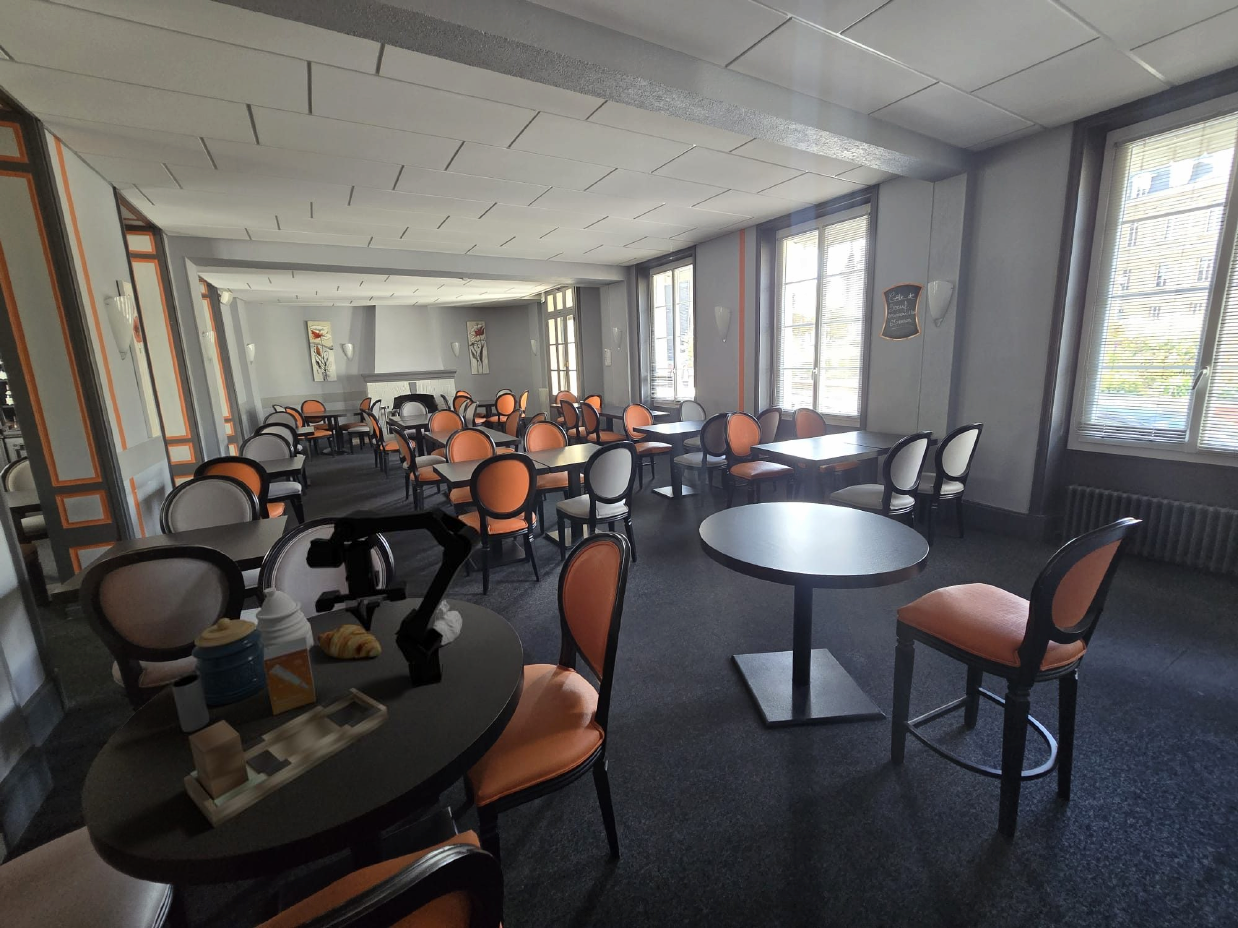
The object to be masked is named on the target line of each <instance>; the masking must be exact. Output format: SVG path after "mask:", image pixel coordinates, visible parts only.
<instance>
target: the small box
mask: <svg viewBox="0 0 1238 928" xmlns="http://www.w3.org/2000/svg"><path fill="white" fill-rule="evenodd" d="M264 665H265V671H266V677H267V682H268V683H267V687H268V693H269V697H270V698H269V699H270V703H271V708H272V713H273V715H274V716H276V715H279V714H280V713H284V712H287V711H289V710H293V709H296V708H299V707H301V706H305V705H308V704H311V703H314V702H316V701H317V699H316V698H317V697H316V690H315V684H314V683H315V682H314V677H313V672H312V667H311V665H312V664H311V660H310V654H309V650H308V647H307V641H306V637H303V638H300V639H296V640H292V641H288V642H284V643H281V644H278V645H274V646H271V647H267V648H264Z"/></svg>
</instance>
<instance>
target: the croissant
mask: <svg viewBox="0 0 1238 928" xmlns="http://www.w3.org/2000/svg"><path fill="white" fill-rule="evenodd" d="M317 641H318V643H319V646H320V649H322V650H323V651H324V653H325V654H326V655H328V656H330V657H334V658H337V659H342V660H343V659H345V660H346V659H361V658H365V657H368V658H369V657H370V658H371V657H376V656H378V655H379V654H381V653H382V647H381V644H380V643H379V641H378V640H377V638H376V637H375V636H374V635H373V634H372V632H369V631H366V630H365V629H364V628H362V626H360V625H357V624H342V625H341V626H340V627H338V628H334V629H333V630H332V631H327V632H324V633H321V634H319V635H317Z"/></svg>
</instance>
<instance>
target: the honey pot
mask: <svg viewBox="0 0 1238 928" xmlns="http://www.w3.org/2000/svg"><path fill="white" fill-rule="evenodd" d="M263 592H264V595H266V597H265V599H264V601H263V603H262V605H261V608H260V609H259V610H258V611H257V612H256V614H255V619H257V623H256V624H255V625H256V627H255V629H258V630H260V631H261V632H262V636H261V638H260V641H261V643H263V644H264V648H267V647H271V646H274V645H278V644H281V643H284V642H288V641H292V640H296V639H300V638H303V637H306V641H307V647H308V651H310V650H311V649H312V647H313V646H314V644H315V643H314V638H313V637H314V636H313V631H312V628H311V623H310V622H309V621H308V620H307V618H306V617H305V614H304V613H303V612H302V611H301V608H302V605H301V602H300V601H297V600H293V599H292V598H291V597H290V596H289V595H288V594H287V593H285V592H283V591H281V590H277V588H276V587H268V588H266V589H264V590H263Z"/></svg>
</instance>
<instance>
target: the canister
mask: <svg viewBox="0 0 1238 928" xmlns="http://www.w3.org/2000/svg"><path fill="white" fill-rule="evenodd" d="M256 625H257V624H256V623H255V622H254V621H252V620H251V621H249V620H245V619H231V620H230V618H227V617H223V618H220V619H219V620H218V621H217V622H216V624H214V625H212V626H209V627H208V628H207V629H205V630H203V631H202V633H200V634H199V635H198V636H197V637H196V638H195V640H194V645H195V647H194V648H193V649H192V651H191V656H192V657H193V658H194V659H196V660H195V661H196V663H195V665H194V669H195V671H196V673H197V675H199V676H200V679H201V683H202V688H203V692H204V697H205V701H206V705H210V706H223V705H228V704H229V705H230V704H233V703H236V702H238V701H241V700H244V699H246V698H248V697H249V698H250V697H251V696H253V695H255V694H256V693H257V692H259V691H260V690H261V689H264V688H265V686H266V685H268V682H267V677H266V671H265V665H264V644H263V643H261V641H260V638H261V636H262V632H261V631H260V630H258V629H256Z"/></svg>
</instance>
